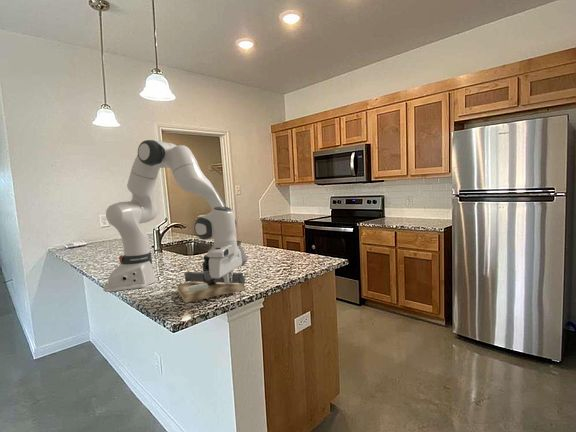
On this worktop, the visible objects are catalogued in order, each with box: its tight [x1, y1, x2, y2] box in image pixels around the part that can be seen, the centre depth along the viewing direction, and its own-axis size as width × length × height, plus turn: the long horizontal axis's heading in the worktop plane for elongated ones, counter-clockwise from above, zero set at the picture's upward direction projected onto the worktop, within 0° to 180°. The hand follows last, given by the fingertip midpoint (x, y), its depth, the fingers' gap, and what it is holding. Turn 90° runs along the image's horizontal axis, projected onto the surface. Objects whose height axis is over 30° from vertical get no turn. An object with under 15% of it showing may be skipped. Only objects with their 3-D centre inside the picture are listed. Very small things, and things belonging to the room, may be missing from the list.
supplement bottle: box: [201, 254, 210, 272], centre depth 150 cm, size 7×7×12 cm
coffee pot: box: [237, 240, 249, 266], centre depth 175 cm, size 21×12×15 cm, turn 9°
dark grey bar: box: [184, 270, 246, 285], centre depth 135 cm, size 28×5×5 cm, turn 73°
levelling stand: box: [177, 281, 246, 303], centre depth 135 cm, size 24×16×5 cm, turn 118°
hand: (228, 283), depth 128 cm, fingers closed
